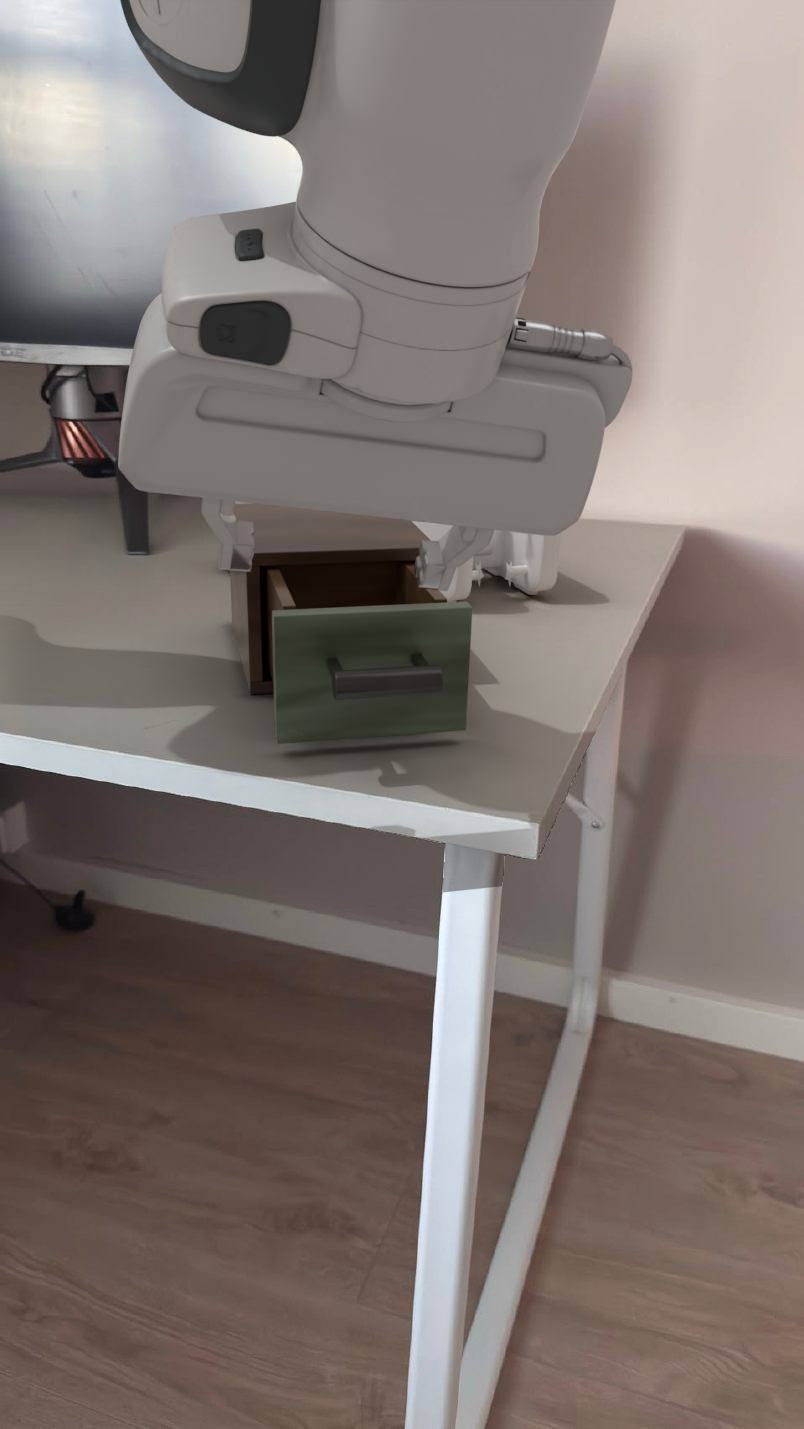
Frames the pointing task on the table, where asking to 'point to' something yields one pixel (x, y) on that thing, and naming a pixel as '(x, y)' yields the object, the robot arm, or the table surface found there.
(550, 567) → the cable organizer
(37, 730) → the table surface
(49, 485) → the table surface
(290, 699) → the drawer
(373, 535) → the cabinet
